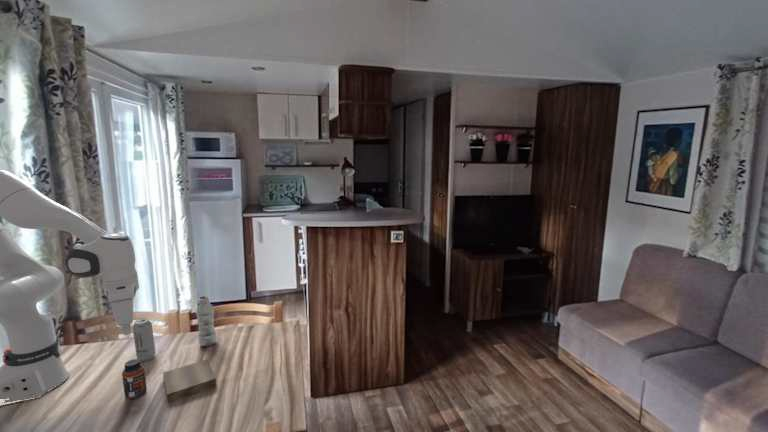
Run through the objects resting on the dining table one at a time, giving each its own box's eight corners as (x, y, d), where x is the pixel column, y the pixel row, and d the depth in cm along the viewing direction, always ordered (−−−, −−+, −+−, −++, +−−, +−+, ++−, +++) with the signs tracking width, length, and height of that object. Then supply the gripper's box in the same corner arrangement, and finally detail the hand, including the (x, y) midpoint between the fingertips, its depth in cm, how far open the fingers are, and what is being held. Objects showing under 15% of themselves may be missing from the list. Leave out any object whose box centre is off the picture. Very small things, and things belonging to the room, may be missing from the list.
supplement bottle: (136, 401, 117) (131, 368, 115) (120, 399, 118) (115, 366, 116) (151, 389, 123) (147, 358, 121) (136, 387, 124) (131, 356, 122)
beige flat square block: (168, 403, 116) (167, 394, 116) (163, 380, 127) (162, 372, 127) (216, 386, 124) (215, 378, 123) (208, 366, 135) (207, 359, 135)
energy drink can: (133, 361, 139) (127, 324, 136) (146, 352, 145) (141, 316, 142) (147, 363, 138) (142, 325, 135) (159, 354, 144) (155, 318, 141)
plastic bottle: (200, 341, 153) (195, 295, 149) (218, 339, 155) (213, 293, 151) (197, 349, 147) (192, 302, 143) (216, 347, 149) (211, 299, 145)
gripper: (109, 278, 120) (115, 318, 123) (107, 298, 104) (114, 344, 106) (132, 274, 124) (138, 313, 126) (134, 293, 107) (140, 337, 110)
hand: (127, 327), depth 116 cm, fingers open, 8 cm apart
